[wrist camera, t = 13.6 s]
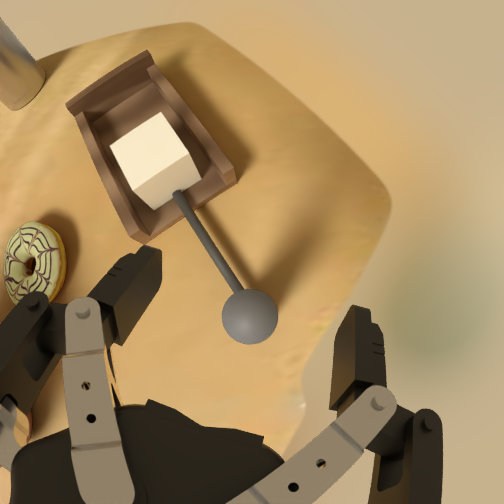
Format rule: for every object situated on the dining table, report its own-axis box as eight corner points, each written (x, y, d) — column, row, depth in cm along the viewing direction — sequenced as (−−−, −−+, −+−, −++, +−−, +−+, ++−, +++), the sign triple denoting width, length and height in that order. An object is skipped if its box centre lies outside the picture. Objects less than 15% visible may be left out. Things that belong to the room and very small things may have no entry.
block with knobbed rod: (132, 170, 33) (91, 126, 23) (176, 141, 33) (148, 88, 23) (238, 345, 29) (226, 364, 19) (290, 311, 29) (304, 313, 20)
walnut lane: (86, 126, 35) (65, 103, 29) (159, 78, 36) (146, 49, 30) (144, 244, 32) (120, 231, 26) (237, 183, 33) (231, 158, 27)
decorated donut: (7, 288, 32) (-11, 285, 28) (34, 216, 34) (16, 208, 30) (54, 326, 31) (35, 326, 27) (84, 245, 33) (66, 238, 29)
